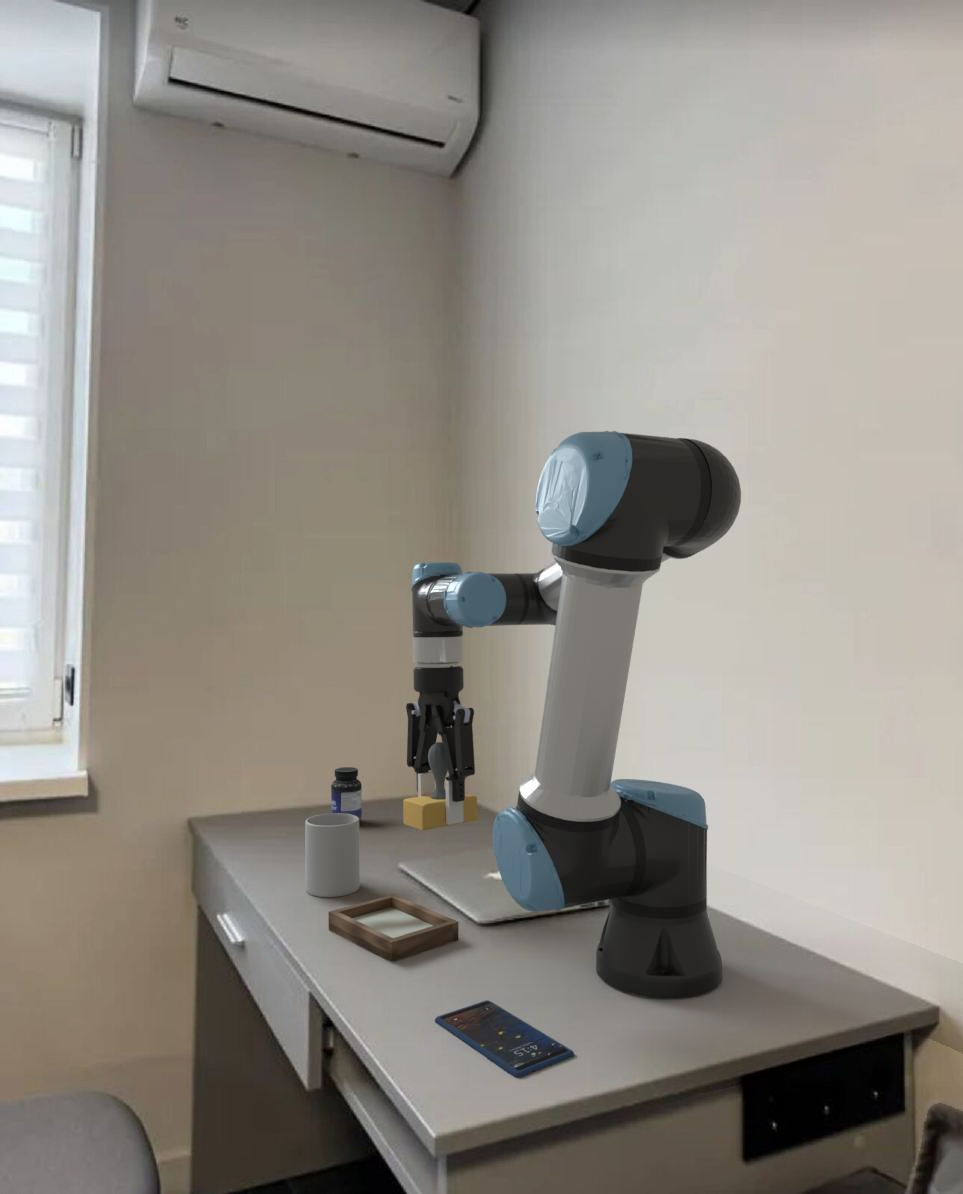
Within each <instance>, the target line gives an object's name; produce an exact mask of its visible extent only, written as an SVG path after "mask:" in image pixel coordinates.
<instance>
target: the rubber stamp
mask: <svg viewBox="0 0 963 1194" xmlns="http://www.w3.org/2000/svg"><path fill="white" fill-rule="evenodd" d="M428 761H429V765H430V768H431V772H432V773H433V775H434V778H435V792H434V793H433V794H432V795H426V796H420V797H418V796H416V797H409V798H408V797H407V798H405V799H403V804H402V807H403V809H402V811H403V812H402V815H403V816H402V817H403V818H402V820H403V824H404V825H406V826H409V827H413V828H415V829H418V830H421V831H426V830H433V829H437V828H444V827H448V826H455V825H460V824H465V823H470V822H475V821H478V797H477V796H476V795H473V794H468V793H466V792H465V799H464V801H463V820H464V822H460V823H456V824H451V825H448V824H446V787H445V780H446V778H445V777H447V774H448V768H447V763H446V758H445V753H444V748H443V743H442V741H440V742H437V741H436V743H435V744H433V745H432V746H431V748H430V749H429V752H428Z"/></svg>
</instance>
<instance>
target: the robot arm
mask: <svg viewBox="0 0 963 1194" xmlns="http://www.w3.org/2000/svg"><path fill="white" fill-rule="evenodd" d="M535 494H536V495H535V513H536V514H537V515H539V516H538V518H537V520H536V522H537V525H538V528H539V530H540V533H541V534H542V535H543V537H544V538H545V539H546V540H548V541H549V542H550V543H552V546H551V551H550V553H551V554H550V555H551V557H552V558H553V560H554V561H553V562H551V563H550V564H548V565H547V566H546V567H544V568H542V569H541V570H539V571H537V572H533V573H530V572H529V573H527V572H525V573H506V572H503V573H500V572H499V573H496V572H495V573H493V572H489V573H487V572H482V571H465V572H463V571H462V566H461V565H460V564H459V563H457V562H452V561H449V562H448V561H447V562H445V561H442V562H441V561H436V562H434V561H432V562H431V561H429V562H420V563H416V564H415V566H414V567H413V569H412V579H411V580H412V582H411V586H410V587H411V588H410V589H411V594H412V595H411V598H412V600H411V601H412V631H413V634H412V635H413V636H412V662H413V663H414V664H415V665H416V666H415V667H414V669H413V690H414V691H415V692H417V693H419V696H418V699H417V701H415V702H407V703H406V705H405V710H406V714H407V715H406V716H407V740H406V741H407V742H406V743H407V747H406V748H407V750H406V765H407V767H408V768H413V771H414V772H415V775H416V792H417V797H420V796H426V795H432V794H433V793H434V792H435V789H436V782H435V778H434V775H433V773H432V770H431V768H430V765H429V761H428V752H429V749H430V748H431V746H432V745H433V744H435V743H437V739H438V735H439V736H440V737H441V742H442V743H443V748H444V753H445V758H446V763H447V768H448V772H447V774H448V776H446V777H445V782H444V784H445V791H446V824H448V825H450V826H452V825H451V824H455V825H457V824H456V823H460V822H464V820H463V801H464V799H465V793H466V792H465V790H466V787H465V780H466V778H467V777H470V776H474V775H475V774H476V768H475V750H474V749H475V748H474V732H473V722H474V715H475V710H474V707H465V706H463V705H462V703H461V700H460V697H459V693H460V692H461V691H463V690H464V687H465V686H464V685H465V684H464V681H465V680H464V668H463V666H461V665H460V663H461V664H462V662H463V661H464V651H463V650H464V646H463V645H464V644H463V640H464V638H463V635H464V633H463V627H464V628H468V629H470V628H471V629H472V628H483V627H496V626H501V627H502V626H528V625H529V626H532V625H533V626H537V625H539V626H540V625H541V626H543V625H544V626H545V625H547V626H548V625H550V626H555V627H554V635H553V643H552V649H551V656H550V663H549V670H548V677H547V682H546V683H547V684H546V691H545V699H544V705H543V713H542V719H541V727H540V734H539V742H538V747H537V748H538V749H537V755H536V763H535V771H534V772H533V773H531V774H530V775H528V776H527V777H525V778H524V779H522V781H521V782H520V784H519V787H518V789H519V790H518V797H517V804H516V806H515V807H510V806H509V807H508V806H507V807H506V808H505V809H503V810H501V811H500V812H499V813H498V814H497V815H496V817H495V819H494V822H493V827H492V828H493V829H492V845H493V854H494V857H495V863H496V866H497V870H498V871H499V874H500V875H499V876H500V878H501V881H502V882H503V884H504V887H505V888H506V891H508V892H507V893H508V895H510V897H511V898H512V899H513V901H515V903H516V904H517V905H518V906H519V907H521V908H522V909H523V910H526V911H529V912H534V913H535V912H544V911H551V910H554V911H555V912H560V911H562V909H564V908H571V907H575V906H581V905H582V906H583V905H585V904H586V905H587V904H592V903H597V902H601V901H602V902H603V901H607V900H608V901H609V900H610V902H609V910H608V913H607V917H606V920H605V923H604V925H603V928H602V932H601V935H600V939H599V943H598V945H597V947H596V953H595V961H596V962H595V969H596V973H597V975H598V977H599V978H600V979H601V980H602V981H603V982H604V983H605V984H607V985H609V986H610V987H612V988H614V989H617V990H619V991H622V992H624V993H627V994H631V995H635V996H638V997H639V996H640V997H645V998H650V999H664V1000H665V999H667V1000H669V999H670V1000H673V999H674V1000H675V999H686V998H693V997H694V998H695V997H698V996H702V995H704V994H705V995H706V994H708V993H710V992H712V991H714V990H716V989H717V988H718V987H719V986H720V985H721V983H722V981H723V960H722V959H723V958H722V955H721V953H720V951H719V950H718V946H717V941H716V938H715V935H714V932H713V928H712V925H711V922H710V918H709V914H708V908H707V907H708V906H707V905H708V903H707V902H708V899H707V897H708V896H707V895H708V894H707V893H708V892H707V890H708V889H707V883H708V882H707V880H708V879H707V878H708V875H707V871H708V870H707V865H708V861H707V859H708V857H707V855H708V853H707V851H708V830H709V825H708V823H707V810H706V802H705V799H704V797H702V795H701V794H700V793H699V792H698V791H696V790H693V789H691V788H688V787H685V786H681V785H677V784H672V783H667V782H663V781H662V782H661V781H655V780H648V779H647V780H645V779H634V778H618V779H615V780H612V777H613V772H614V765H615V759H616V751H617V747H618V746H617V745H618V740H619V734H620V728H621V721H622V716H623V711H624V710H623V709H624V702H625V698H626V690H627V686H628V684H627V683H628V678H629V673H630V666H631V659H632V658H631V657H632V653H633V648H634V640H635V636H636V628H637V624H638V623H637V621H638V617H639V616H638V615H639V609H640V604H641V598H642V597H641V596H642V591H643V586H644V583H645V582H646V581H647V580H648V579H649V578H651V577H653V576H654V575H656V573H659V572H660V569H661V564H662V563H663V562H665V561H667V560H669V559H676V560H683V559H688V558H690V557H692V556H694V555H696V554H698V553H701V552H703V551H704V550H706V549H708V548H709V547H711V546H713V544H715V543H717V542H718V541H720V539H722V538H723V537H724V536H725V535H726V534H727V533H728V532H729V531H730V529H732V528H733V527H732V526H733V525H734V523H735V521H736V520H737V517H738V515H739V512H740V508H741V502H742V491H741V484H740V479H739V476H738V473H737V472H736V469H735V467H734V466H733V464H732V463H731V461H729V459H728V458H727V456H726V455H724V453H722V452H721V450H719V449H717V448H716V447H714V446H712V445H710V443H709V444H708V443H706V442H705V441H701V440H698V439H693V438H692V439H691V438H684V437H679V438H678V437H668V436H667V437H666V436H657V435H648V434H637V433H628V432H619V431H616V430H613V431H608V430H604V431H582V432H577V433H573V434H572V435H570V436H567V437H566V438H564V439H563V440H561V442H560V443H559V445H558V446H557V448H555V449H553V450H552V452H551V453H550V455H549V457H548V458H547V459H546V461H545V464H544V466H543V467H542V470H541V472H540V476H539V479H538V484H537V487H536V493H535ZM460 824H461V823H460Z"/></svg>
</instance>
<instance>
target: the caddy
mask: <svg viewBox="0 0 963 1194" xmlns="http://www.w3.org/2000/svg"><path fill="white" fill-rule="evenodd" d="M328 931H331V932H332V933H334V934H337V935H339V936H340V937H342V938H344V939H346V940H348V941H349V942H352V943H353V944H355V945H356V946H360V947H362V948H363V949H365V950H368V951H369V952H371V953H373V954H374V955H377V956H379V957H380V958H382V959H384V960H386V961H388V962H391V963H394V962H396V961H399V960H402V959H405V958H408V957H412V956H414V955H417V954H420V953H423V952H427V951H429V950H433V949H435V948H440V947H442V946H445V945H448V944H452V943H454V942H457V941H459V935H460V934H459V921H458V920H455V919H454V918H452V917H451V918H450V917H448V916H446V915H444V914H441V913H439V912H437V911H434V910H432V909H429V908H427V907H424V906H422V905H420V904H418V903H415V902H413V901H411V900H409V899H405V898H404V897H400V896H399V895H396V894H394V893H393V894H389V895H386V896H382V897H379V898H373V899H369V900H367V901H363V902H360V903H356V904H352V905H351V904H350V905H348V906H345V907H344V906H343V907H341V908H336V909H333V910H330V911H328Z"/></svg>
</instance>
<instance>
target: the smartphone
mask: <svg viewBox="0 0 963 1194" xmlns="http://www.w3.org/2000/svg"><path fill="white" fill-rule="evenodd" d="M434 1022H435V1024H437V1025H438V1026H440V1027H441V1028H443V1029H444V1030H446V1032H448V1033H450V1035H453V1036H454V1037H456V1038H457V1039H459V1041H461V1042H463V1043H465V1044H466V1045H467V1046H469V1047H470V1048H472V1049H473V1050H474V1051H476V1052H477V1053H479V1054H480V1055H482V1056H483V1057H484V1058H485V1059H487V1060H489V1062H491V1063H493V1064H494V1065H496V1066H497V1067H498V1068H500V1069H501V1070H503V1071H504V1072H506V1073H507V1074H509V1075H511V1076H512V1077H514V1078H516V1079H522V1078H524V1077H526V1076H529V1075H532V1072H533V1073H537V1072H539V1071H542V1070H544V1069H547V1068H550V1067H552V1066H555V1065H557V1064H559V1063H561V1062H564V1061H567V1060H570V1059H572V1058H574V1056H575V1053H574V1051H573V1050H572V1049H570V1048H568V1047H567V1046H565V1045H564V1044H562V1043H560V1042H559V1041H557V1040H555V1039H553V1038H552V1037H551V1036H548V1035H547V1034H545V1033H544V1032H542V1031H540V1030H539V1029H537V1028H535V1027H533V1026H532V1025H531V1024H529V1023H528V1022H526V1021H523V1020H522V1019H520V1017H518V1016H516V1015H514V1014H512V1013H511V1012H509V1011H507V1010H505V1009H504V1008H502V1007H501V1006H499V1005H497V1004H496V1003H494V1002H492V1001H491V1000H489V999H488V1000H483V1001H480V1002H477V1003H475V1004H471V1005H469V1006H465V1007H462V1008H459V1009H457V1010H453V1011H450V1012H447V1013H444V1014H441V1015H439V1016H436V1017H435V1018H434Z"/></svg>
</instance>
